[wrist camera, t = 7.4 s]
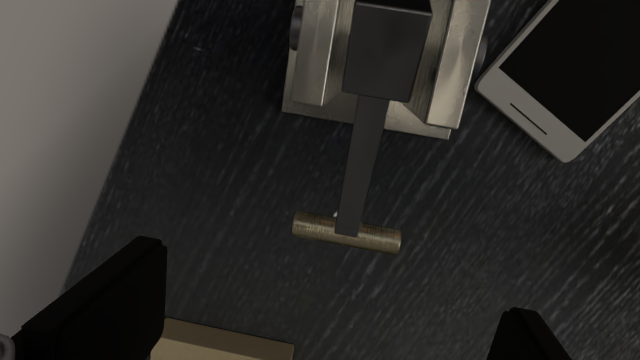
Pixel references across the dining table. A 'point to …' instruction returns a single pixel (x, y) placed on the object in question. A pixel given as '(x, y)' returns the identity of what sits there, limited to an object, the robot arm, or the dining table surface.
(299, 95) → the metal stand
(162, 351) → the control block
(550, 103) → the smartphone
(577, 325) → the dining table surface
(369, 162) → the switch lever
